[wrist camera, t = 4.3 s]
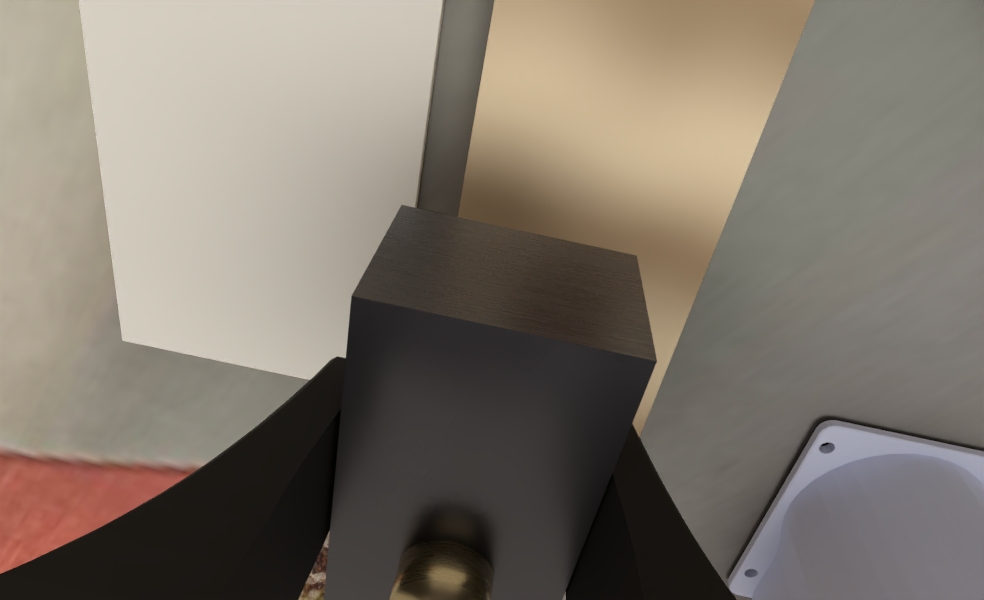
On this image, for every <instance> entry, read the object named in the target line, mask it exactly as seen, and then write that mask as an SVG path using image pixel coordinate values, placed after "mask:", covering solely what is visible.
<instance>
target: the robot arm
mask: <svg viewBox="0 0 984 600" xmlns="http://www.w3.org/2000/svg"><path fill="white" fill-rule="evenodd" d="M345 361H346V358H343V357H338V356H337V357H335V358H333V359H331V360H330V361H329V362H328V363H327V364H326V365H325V366H324V367H323V368H322V369H321V370H320V371H319V372H318V373H317V374H316V375H315V376H314V377H313V378H312V379H311V380H310V381H308V382H307V383H306V384H305V385H304V386H303V387H302V388H301V389H300V390H299V391H298V392H296V393H295V394H294V395H293V396H292V397H291V398H290V399H289V400H288V401H286V402H285V403H284V404H283V405H282V406H280V407H279V408H278V409H277V410H276V411H275V412H273V413H272V414H271V415H270V416H269V417H267V418H266V419H265V420H264V421H263V422H261V423H260V424H259V425H258V426H257V427H255V428H254V429H253V430H252V431H250V432H249V433H248V434H246V435H245V436H244V437H242V438H241V439H240V440H238V441H237V442H236V443H234V444H233V445H232V446H230V447H229V448H228V449H226V450H225V451H224V452H222V453H221V454H220V455H218V456H217V457H216V458H214V459H213V460H211V461H210V462H208V463H207V464H206V465H204V466H203V467H201V468H200V469H198V470H197V471H195V472H194V473H192V474H191V475H189V476H188V477H186V478H185V479H183V480H181V481H180V482H178V483H177V484H175V485H174V486H172V487H170V488H169V489H167V490H166V491H164V492H162V493H161V494H159V495H157V496H156V497H154V498H152V499H150V500H149V501H147V502H145V503H143V504H142V505H140V506H138V507H136V508H135V509H133V510H131V511H129V512H128V513H126V514H124V515H122V516H121V517H119V518H117V519H115V520H113V521H111V522H110V523H108V524H106V525H104V526H102V527H100V528H98V529H96V530H94V531H92V532H90V533H88V534H86V535H84V536H82V537H80V538H78V539H76V540H74V541H72V542H69V543H67V544H65V545H63V546H61V547H59V548H57V549H55V550H53V551H51V552H49V553H46V554H44V555H42V556H40V557H38V558H36V559H34V560H32V561H29V562H27V563H25V564H23V565H20V566H18V567H16V568H13V569H11V570H9V571H6V572H4V573H2V574H0V600H298V599H299V597H300V595H301V593H302V590H303V588H304V586H305V584H306V582H307V579H308V577H309V575H310V573H311V571H312V568H313V566H314V564H315V562H316V560H317V557H318V555H319V553H320V551H321V549H322V546H323V544H324V542H325V540H326V538H327V535H328V533H329V531H330V524H331V513H332V503H333V492H334V481H335V470H336V459H337V448H338V437H339V426H340V415H341V405H342V394H343V383H344V372H345ZM826 442H829V444H828V445H825V446H821V445H822V444H823V443H826ZM728 586H729V589H730V590H729V589H728V588H727V586H726V585H725V583H724V582H723V581H722V579H721V578H720V576H719V575H718V573H717V572H716V570H715V569H714V567H713V566H712V564H711V563H710V561H709V560H708V558H707V557H706V555H705V554H704V552H703V551H702V549H701V547H700V546H699V544H698V543H697V541H696V540H695V538H694V536H693V535H692V533H691V531H690V530H689V528H688V526H687V525H686V523H685V521H684V520H683V518H682V516H681V514H680V513H679V511H678V509H677V508H676V506H675V504H674V502H673V501H672V499H671V497H670V495H669V494H668V492H667V490H666V488H665V486H664V484H663V483H662V481H661V479H660V477H659V475H658V473H657V471H656V469H655V467H654V465H653V464H652V462H651V460H650V458H649V456H648V454H647V452H646V450H645V448H644V446H643V444H642V442H641V440H640V438H639V436H638V434H637V432H636V430H635V428H634V425H633V424H632V425H631V428H630V430H629V433H628V435H627V438H626V440H625V443H624V446H623V448H622V451H621V453H620V456H619V458H618V461H617V463H616V466H615V468H614V471H613V473H612V476H611V478H610V481H609V483H608V486H607V488H606V491H605V493H604V496H603V498H602V501H601V503H600V506H599V508H598V511H597V513H596V516H595V518H594V521H593V523H592V526H591V528H590V531H589V533H588V536H587V538H586V541H585V543H584V546H583V548H582V551H581V554H580V556H579V559H578V561H577V564H576V566H575V569H574V571H573V574H572V576H571V579H570V581H569V584H568V586H567V589H566V600H736V598H735V597H734V596H733V594H736V595H739V596H744V597H749V598H752V600H984V451H979V450H975V449H970V448H965V447H960V446H956V445H951V444H946V443H941V442H937V441H932V440H927V439H922V438H918V437H913V436H908V435H904V434H899V433H894V432H889V431H885V430H880V429H875V428H870V427H866V426H861V425H856V424H852V423H847V422H842V421H837V420H828V421H824V422H823V423H821V424H819V425H818V426H817V428H816V429H815V431H814V432H813V434H812V436H811V438H810V439H809V441H808V443H807V445H806V446H805V448H804V450H803V451H802V453H801V455H800V457H799V458H798V460H797V462H796V463H795V465H794V467H793V469H792V470H791V472H790V474H789V475H788V477H787V479H786V481H785V482H784V484H783V486H782V487H781V489H780V491H779V493H778V494H777V496H776V498H775V499H774V501H773V503H772V505H771V506H770V508H769V510H768V511H767V513H766V515H765V517H764V518H763V520H762V522H761V524H760V525H759V527H758V529H757V530H756V532H755V534H754V536H753V537H752V539H751V541H750V542H749V544H748V546H747V548H746V549H745V551H744V553H743V554H742V556H741V558H740V560H739V561H738V563H737V565H736V566H735V568H734V570H733V572H732V573H731V575H730V577H729V578H728ZM730 591H731V592H732V593H733V594H732V593H731V592H730Z"/></svg>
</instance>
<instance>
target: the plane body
mask: <svg viewBox="0 0 984 600" xmlns="http://www.w3.org/2000/svg"><path fill="white" fill-rule="evenodd" d="M814 2H815V0H495V1H494V7H493V12H492V18H491V24H490V30H489V36H488V42H487V47H486V53H485V59H484V65H483V71H482V77H481V83H480V88H479V94H478V100H477V106H476V112H475V118H474V123H473V129H472V135H471V141H470V147H469V153H468V159H467V164H466V170H465V176H464V182H463V188H462V194H461V199H460V205H459V211H458V217H461V218H465V219H470V220H475V221H479V222H484V223H489V224H493V225H498V226H503V227H507V228H512V229H516V230H521V231H526V232H530V233H535V234H540V235H544V236H549V237H553V238H558V239H563V240H567V241H572V242H577V243H581V244H586V245H591V246H595V247H600V248H604V249H609V250H614V251H618V252H623V253H628V254H632V255H637V259H638V264H639V270H640V275H641V280H642V285H643V291H644V296H645V301H646V306H647V311H648V317H649V322H650V327H651V332H652V337H653V343H654V348H655V353H656V358H657V363H656V365H655V368H654V370H653V373H652V375H651V378H650V380H649V383H648V385H647V388H646V390H645V393H644V395H643V398H642V400H641V403H640V405H639V408H638V410H637V413H636V415H635V418H634V420H633V423H632V424H633V425H634V428H635V430H636V432H637V434H638V436H639V437H640V435H641V432H642V430H643V427H644V425H645V422H646V420H647V417H648V415H649V412H650V410H651V407H652V405H653V402H654V400H655V397H656V395H657V392H658V390H659V387H660V385H661V382H662V380H663V377H664V375H665V372H666V370H667V367H668V365H669V362H670V360H671V357H672V355H673V353H674V350H675V348H676V345H677V343H678V340H679V338H680V335H681V333H682V330H683V328H684V325H685V323H686V320H687V318H688V315H689V313H690V310H691V308H692V305H693V303H694V300H695V298H696V295H697V293H698V290H699V288H700V285H701V283H702V280H703V278H704V275H705V273H706V270H707V268H708V265H709V263H710V260H711V258H712V256H713V253H714V251H715V248H716V246H717V243H718V241H719V238H720V236H721V233H722V231H723V228H724V226H725V223H726V221H727V218H728V216H729V213H730V211H731V208H732V206H733V203H734V201H735V198H736V196H737V193H738V191H739V188H740V186H741V183H742V181H743V178H744V176H745V173H746V171H747V168H748V166H749V163H750V161H751V159H752V156H753V154H754V151H755V149H756V146H757V144H758V141H759V139H760V136H761V134H762V131H763V129H764V126H765V124H766V121H767V119H768V116H769V114H770V111H771V109H772V106H773V104H774V101H775V99H776V96H777V94H778V91H779V89H780V86H781V84H782V81H783V79H784V76H785V74H786V71H787V69H788V66H789V64H790V62H791V59H792V57H793V54H794V52H795V49H796V47H797V44H798V42H799V39H800V37H801V34H802V32H803V29H804V27H805V24H806V22H807V19H808V17H809V14H810V12H811V9H812V7H813V4H814Z"/></svg>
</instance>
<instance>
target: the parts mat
mask: <svg viewBox="0 0 984 600" xmlns="http://www.w3.org/2000/svg"><path fill="white" fill-rule="evenodd" d="M444 4H445V0H79V7H80V15H81V23H82V31H83V38H84V46H85V54H86V62H87V69H88V77H89V85H90V93H91V101H92V108H93V116H94V124H95V132H96V139H97V147H98V155H99V163H100V170H101V178H102V186H103V194H104V201H105V209H106V217H107V225H108V233H109V240H110V248H111V256H112V264H113V271H114V279H115V287H116V295H117V302H118V310H119V318H120V326H121V333H122V341H127V342H132V343H137V344H141V345H146V346H151V347H156V348H160V349H165V350H170V351H175V352H179V353H184V354H189V355H194V356H198V357H203V358H208V359H213V360H217V361H222V362H227V363H232V364H236V365H241V366H246V367H251V368H255V369H260V370H265V371H270V372H274V373H279V374H284V375H288V376H293V377H298V378H303V379H307V380H311V379H312V378H313V377H314V376H315V375H316V374H317V373H318V372H319V371H320V370H321V369H322V368H323V367H324V366H325V365H326V364H327V363H328V362H329V361H330V360H331V359H333V358H335V357H337V356H338V357H343V358H346V350H347V339H348V328H349V317H350V306H351V296H352V294H353V292H354V290H355V289H356V287H357V285H358V283H359V281H360V279H361V278H362V276H363V274H364V272H365V270H366V269H367V267H368V265H369V263H370V261H371V260H372V258H373V256H374V254H375V252H376V250H377V249H378V247H379V245H380V243H381V241H382V240H383V238H384V236H385V234H386V232H387V230H388V229H389V227H390V225H391V223H392V221H393V220H394V218H395V216H396V214H397V212H398V211H399V209H400V207H401V205H405V206H410V207H415V208H417V203H418V196H419V189H420V181H421V174H422V166H423V159H424V152H425V144H426V137H427V129H428V122H429V115H430V107H431V100H432V93H433V85H434V78H435V70H436V63H437V56H438V48H439V41H440V33H441V26H442V19H443V11H444Z"/></svg>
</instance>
